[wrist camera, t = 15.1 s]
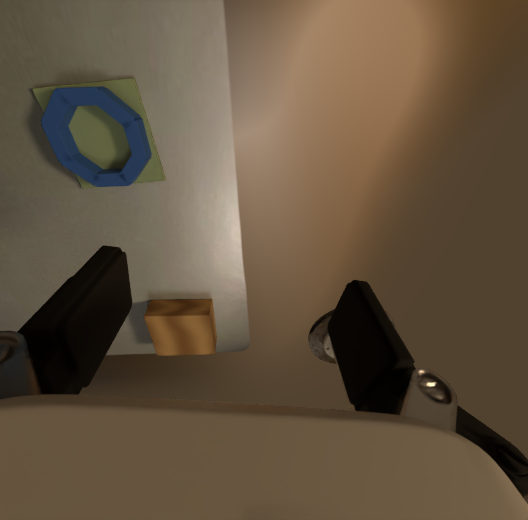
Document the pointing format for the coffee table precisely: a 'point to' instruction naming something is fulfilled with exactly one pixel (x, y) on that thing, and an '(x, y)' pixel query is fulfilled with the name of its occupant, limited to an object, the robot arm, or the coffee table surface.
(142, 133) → the ring
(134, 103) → the mat
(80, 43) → the coffee table surface
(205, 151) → the coffee table surface
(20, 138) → the coffee table surface
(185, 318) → the platform
